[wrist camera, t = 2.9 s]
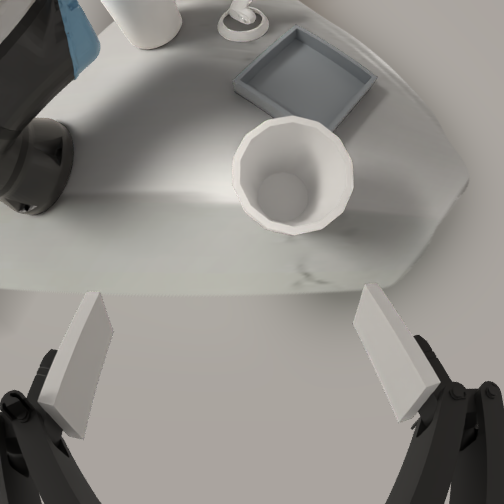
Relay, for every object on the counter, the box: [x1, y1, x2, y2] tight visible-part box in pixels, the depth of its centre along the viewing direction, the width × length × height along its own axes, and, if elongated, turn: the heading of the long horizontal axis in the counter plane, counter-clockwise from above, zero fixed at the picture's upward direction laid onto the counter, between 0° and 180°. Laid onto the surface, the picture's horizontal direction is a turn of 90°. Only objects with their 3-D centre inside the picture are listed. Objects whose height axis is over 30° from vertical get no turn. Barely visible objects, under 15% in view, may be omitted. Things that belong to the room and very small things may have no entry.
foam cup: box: [232, 115, 354, 236], centre depth 28 cm, size 10×9×13 cm
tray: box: [233, 24, 378, 133], centre depth 32 cm, size 13×13×3 cm
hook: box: [217, 0, 269, 42], centre depth 31 cm, size 8×12×7 cm
